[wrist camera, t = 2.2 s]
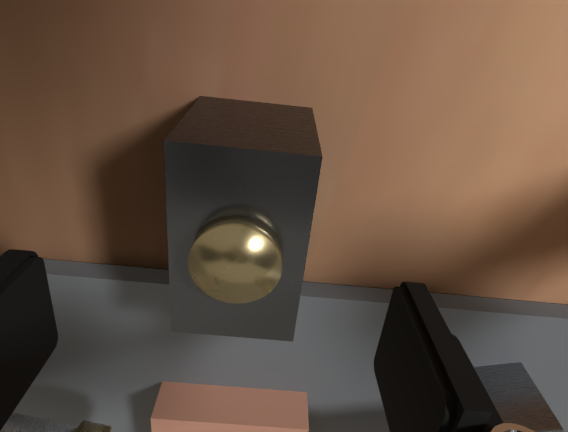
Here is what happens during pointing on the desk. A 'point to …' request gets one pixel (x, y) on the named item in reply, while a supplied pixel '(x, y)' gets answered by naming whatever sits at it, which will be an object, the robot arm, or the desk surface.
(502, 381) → the shaft
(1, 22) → the desk surface
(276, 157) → the block
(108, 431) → the shaft
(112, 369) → the base plate
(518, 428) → the robot arm
